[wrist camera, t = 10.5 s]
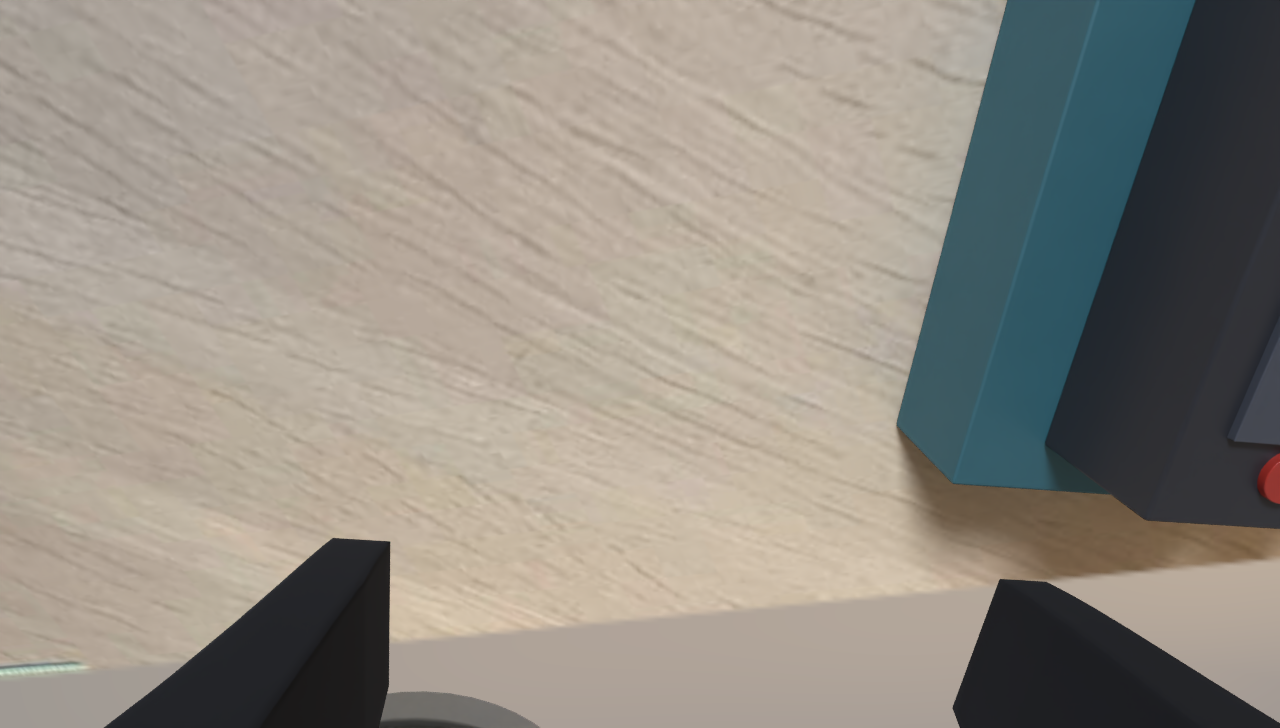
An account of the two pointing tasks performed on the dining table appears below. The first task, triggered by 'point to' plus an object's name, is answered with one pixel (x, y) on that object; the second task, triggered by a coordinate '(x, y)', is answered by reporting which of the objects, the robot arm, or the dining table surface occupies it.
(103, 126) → the dining table surface
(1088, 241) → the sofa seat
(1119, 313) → the remote
